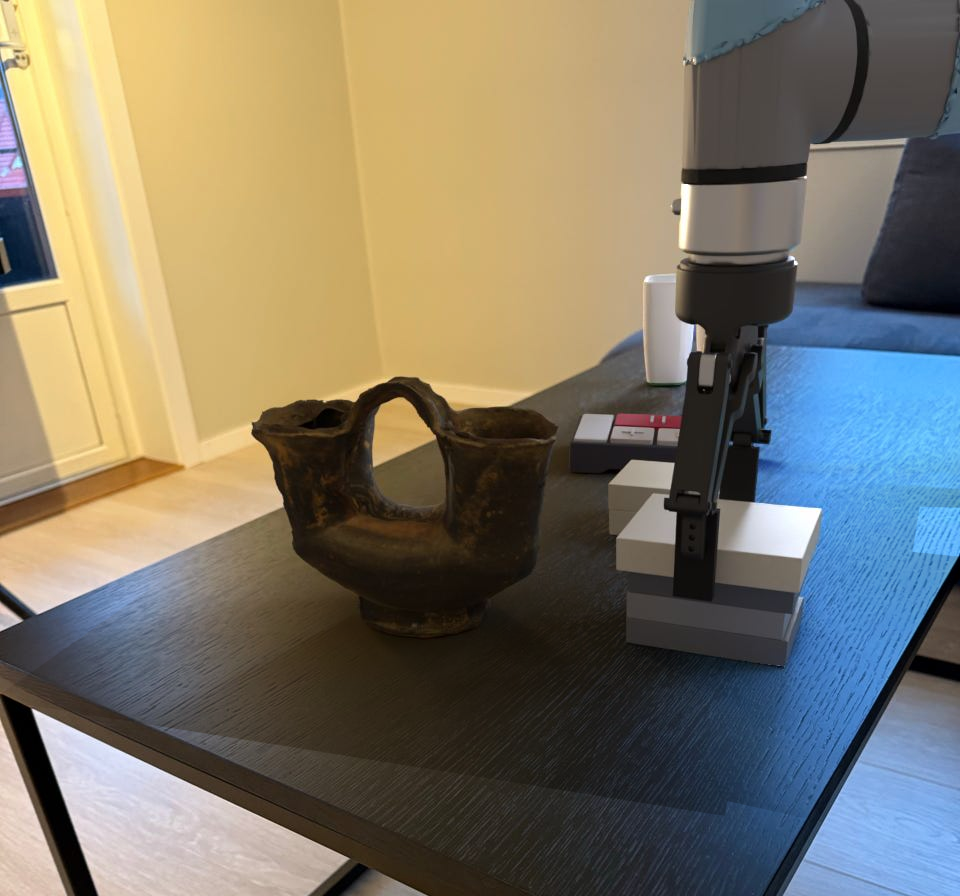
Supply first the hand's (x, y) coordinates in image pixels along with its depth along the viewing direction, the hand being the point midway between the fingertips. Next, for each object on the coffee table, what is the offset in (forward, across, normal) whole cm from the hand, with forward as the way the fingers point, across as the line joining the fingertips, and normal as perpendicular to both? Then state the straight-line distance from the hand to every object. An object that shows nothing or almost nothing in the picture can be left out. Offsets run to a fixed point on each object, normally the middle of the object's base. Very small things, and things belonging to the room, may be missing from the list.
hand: (715, 558), depth 70 cm
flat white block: (0, 0, 0) cm, 0 cm away
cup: (+6, -74, -24) cm, 78 cm away
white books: (+6, -20, -8) cm, 23 cm away
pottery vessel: (+7, +4, -24) cm, 25 cm away
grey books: (+6, 0, 0) cm, 6 cm away
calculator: (+6, -39, -18) cm, 43 cm away
